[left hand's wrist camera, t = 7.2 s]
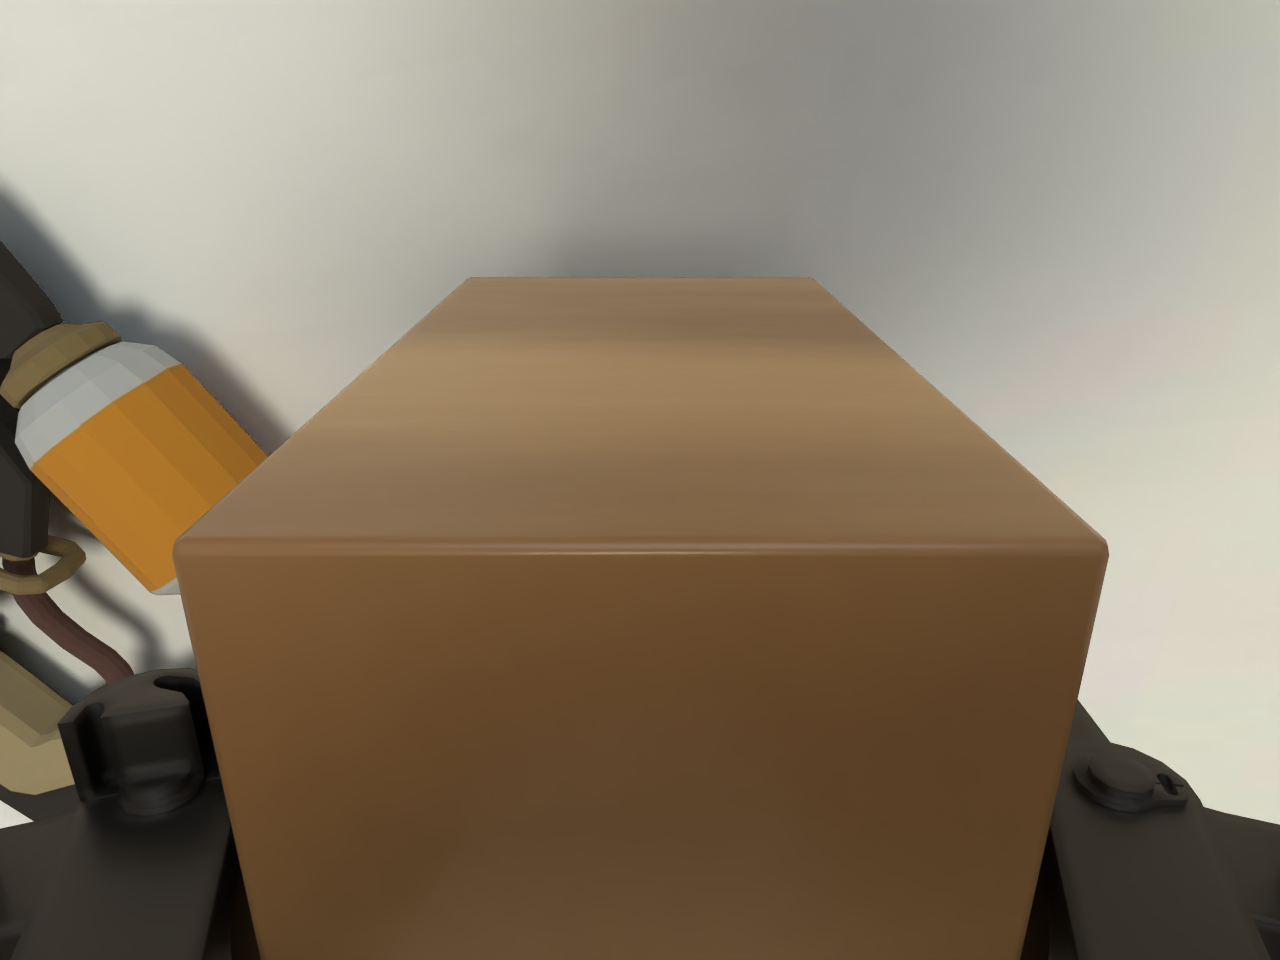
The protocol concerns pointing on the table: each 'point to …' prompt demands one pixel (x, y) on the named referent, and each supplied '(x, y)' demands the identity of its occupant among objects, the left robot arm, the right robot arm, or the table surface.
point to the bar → (640, 642)
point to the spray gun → (90, 497)
